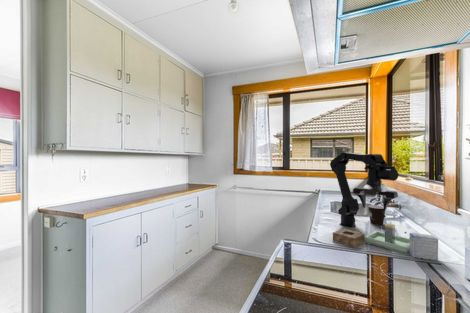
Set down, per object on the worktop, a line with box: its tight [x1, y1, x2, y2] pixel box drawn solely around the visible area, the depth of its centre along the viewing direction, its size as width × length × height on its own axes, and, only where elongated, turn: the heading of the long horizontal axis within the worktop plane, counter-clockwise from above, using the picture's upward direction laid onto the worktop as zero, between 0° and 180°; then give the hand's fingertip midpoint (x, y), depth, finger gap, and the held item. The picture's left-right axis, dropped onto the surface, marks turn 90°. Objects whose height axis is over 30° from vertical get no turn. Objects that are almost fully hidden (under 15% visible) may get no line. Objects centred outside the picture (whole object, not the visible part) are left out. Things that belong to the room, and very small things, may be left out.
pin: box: [384, 223, 396, 244], centre depth 103 cm, size 3×3×8 cm
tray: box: [364, 230, 410, 255], centre depth 103 cm, size 16×14×2 cm
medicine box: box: [408, 232, 439, 261], centre depth 90 cm, size 8×4×9 cm, turn 71°
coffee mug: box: [368, 204, 386, 226], centre depth 132 cm, size 12×9×10 cm
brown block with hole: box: [332, 228, 365, 248], centre depth 106 cm, size 10×10×4 cm
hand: (374, 209), depth 114 cm, fingers open, 9 cm apart
